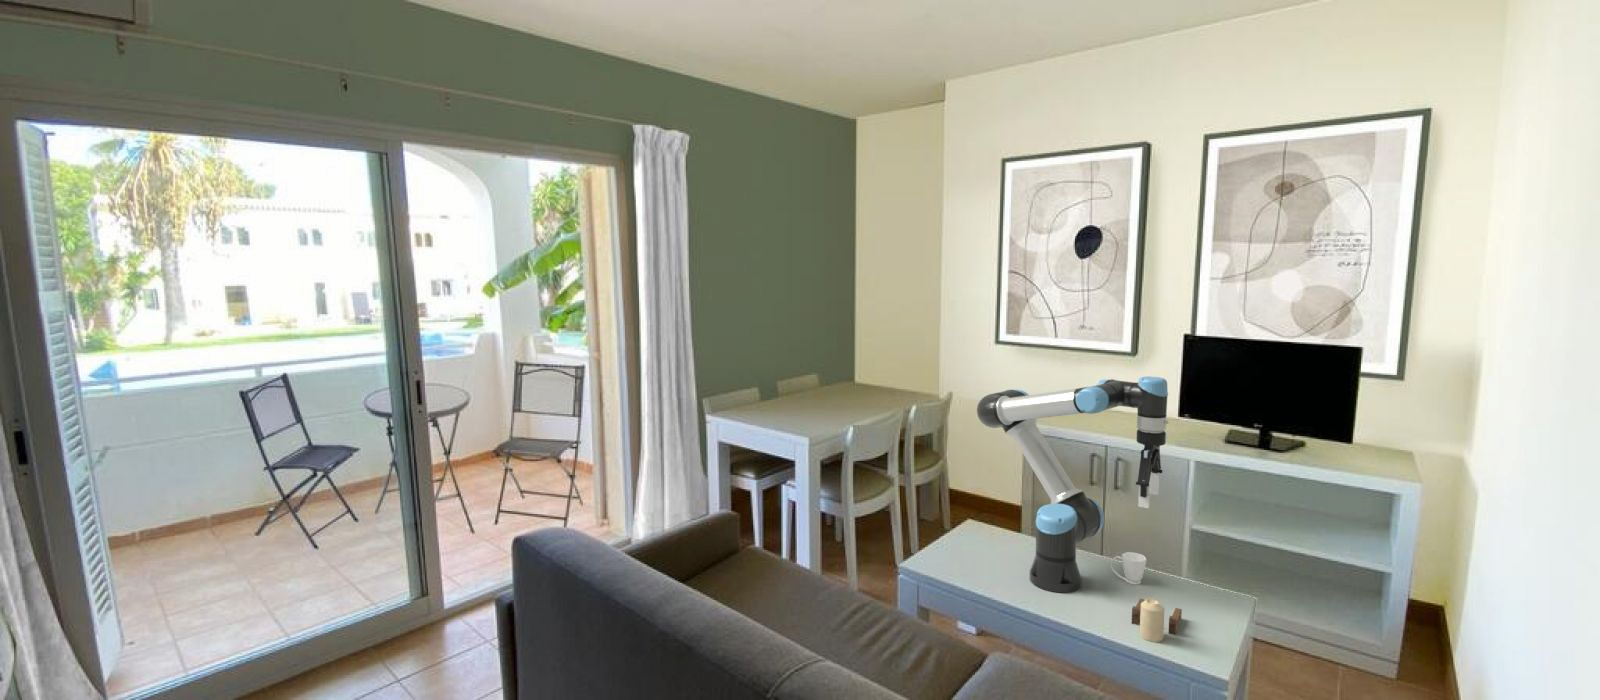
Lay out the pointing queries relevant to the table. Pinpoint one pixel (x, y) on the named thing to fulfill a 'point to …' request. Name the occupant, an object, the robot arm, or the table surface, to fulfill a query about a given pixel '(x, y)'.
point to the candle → (1152, 620)
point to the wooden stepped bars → (1173, 619)
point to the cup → (1132, 567)
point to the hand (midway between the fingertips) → (1148, 500)
